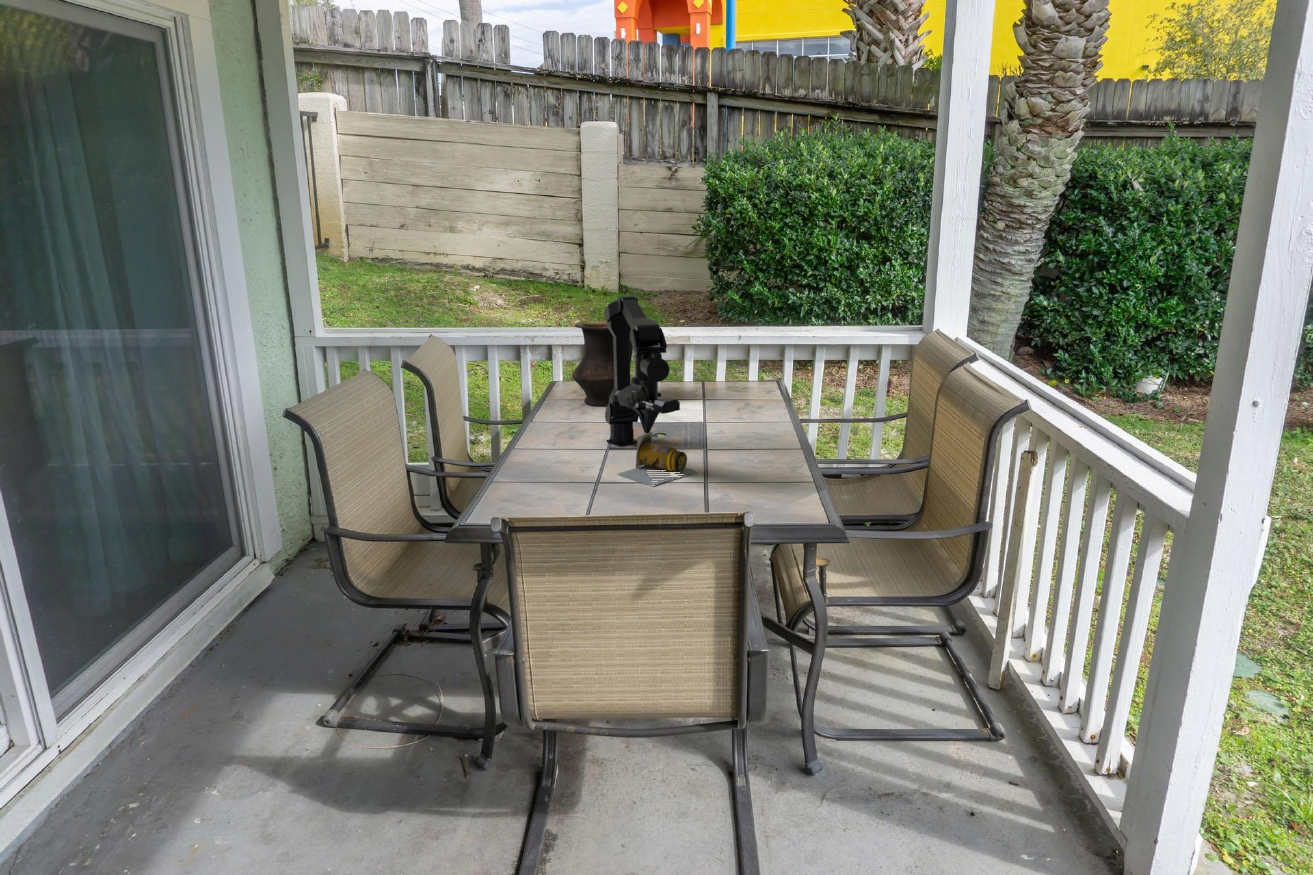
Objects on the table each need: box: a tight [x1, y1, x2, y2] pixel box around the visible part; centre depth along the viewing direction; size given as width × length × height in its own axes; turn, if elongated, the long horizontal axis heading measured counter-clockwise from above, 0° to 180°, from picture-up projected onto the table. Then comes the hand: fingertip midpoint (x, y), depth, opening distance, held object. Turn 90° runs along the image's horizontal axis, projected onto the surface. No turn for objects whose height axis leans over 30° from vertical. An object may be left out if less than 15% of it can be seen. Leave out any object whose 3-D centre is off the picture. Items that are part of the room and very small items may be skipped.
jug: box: [571, 320, 634, 406], centre depth 296 cm, size 21×18×30 cm
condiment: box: [635, 431, 688, 472], centre depth 231 cm, size 7×8×12 cm
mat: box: [617, 465, 698, 487], centre depth 230 cm, size 13×16×1 cm
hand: (646, 432), depth 229 cm, fingers closed
